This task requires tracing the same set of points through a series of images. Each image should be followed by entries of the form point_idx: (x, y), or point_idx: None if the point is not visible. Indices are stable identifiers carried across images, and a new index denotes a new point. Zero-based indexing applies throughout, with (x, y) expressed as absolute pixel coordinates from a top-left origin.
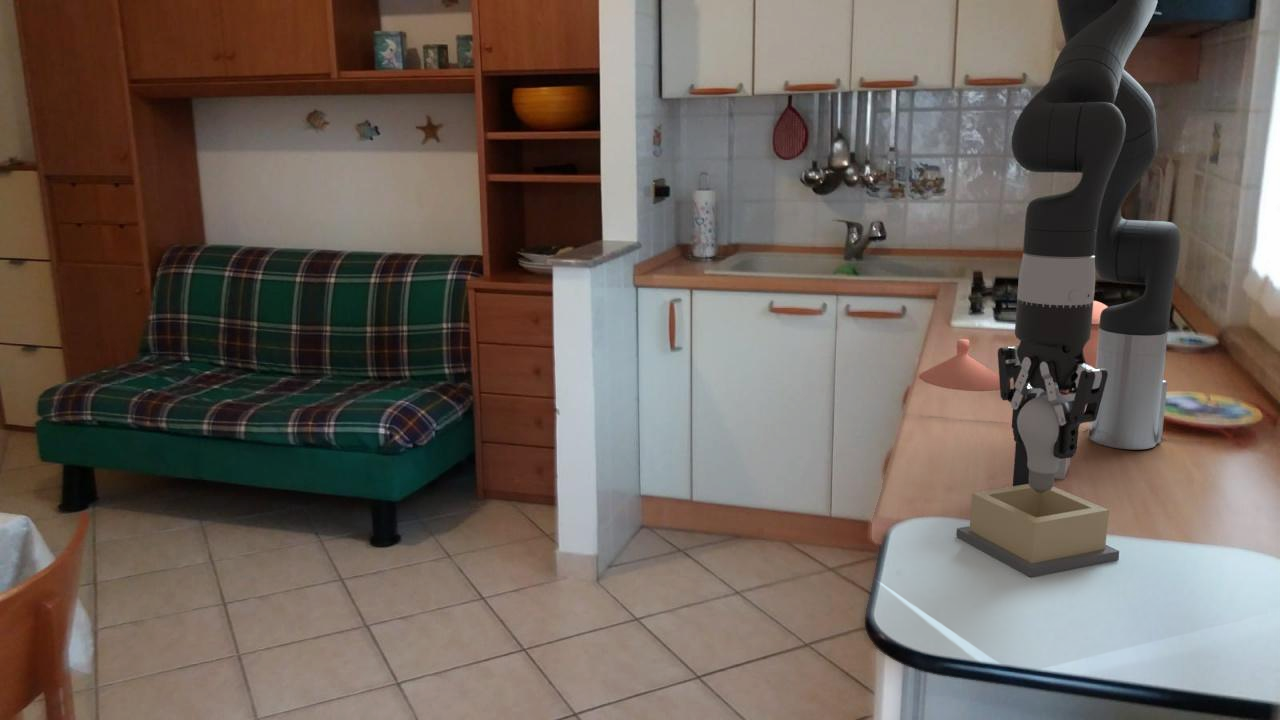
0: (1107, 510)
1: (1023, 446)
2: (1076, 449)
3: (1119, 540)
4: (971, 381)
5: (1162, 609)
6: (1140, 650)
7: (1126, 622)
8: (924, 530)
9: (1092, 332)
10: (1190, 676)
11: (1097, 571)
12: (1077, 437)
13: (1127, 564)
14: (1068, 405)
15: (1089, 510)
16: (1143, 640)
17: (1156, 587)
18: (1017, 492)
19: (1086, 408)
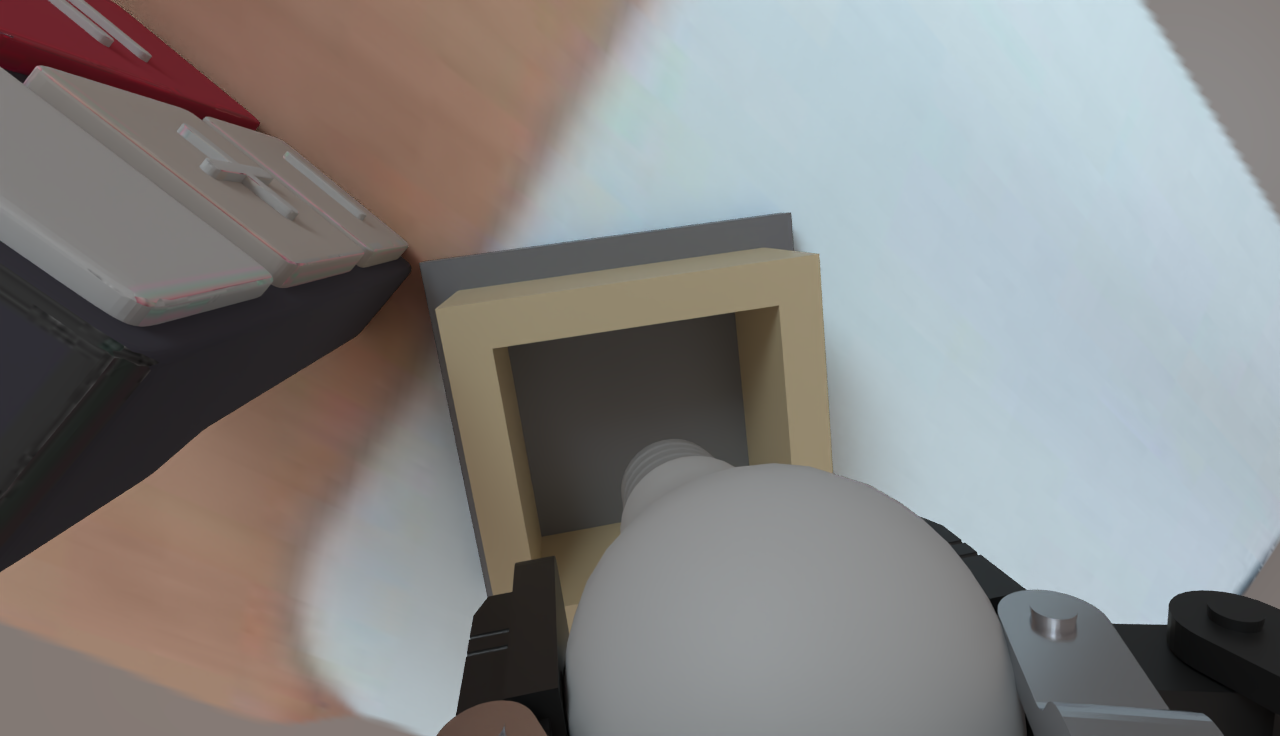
0: (818, 260)
1: (261, 379)
2: (944, 528)
3: (647, 90)
4: None
5: (1058, 320)
6: (1168, 500)
7: (1072, 449)
8: (419, 655)
9: None
10: (1273, 473)
11: (827, 331)
12: (995, 568)
13: (815, 209)
14: (982, 695)
15: (801, 333)
16: (1143, 467)
17: (961, 241)
18: (515, 467)
19: (1262, 701)
